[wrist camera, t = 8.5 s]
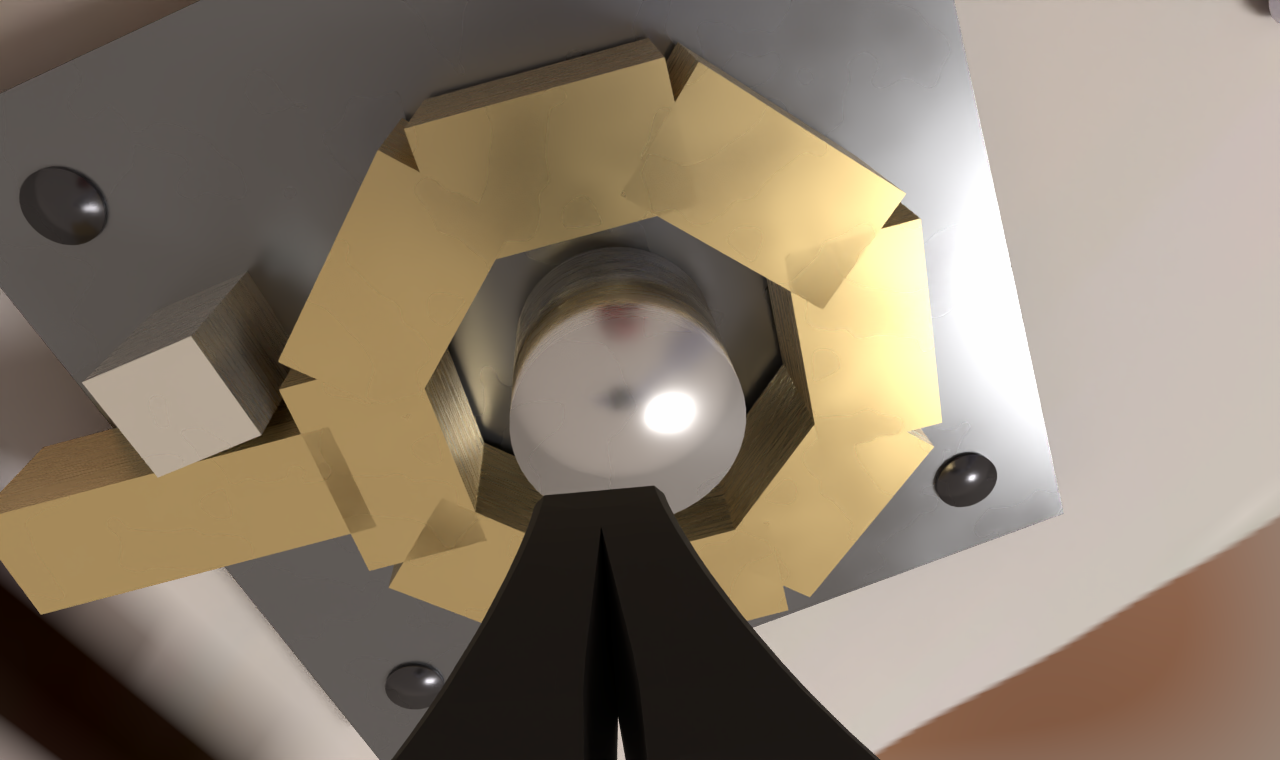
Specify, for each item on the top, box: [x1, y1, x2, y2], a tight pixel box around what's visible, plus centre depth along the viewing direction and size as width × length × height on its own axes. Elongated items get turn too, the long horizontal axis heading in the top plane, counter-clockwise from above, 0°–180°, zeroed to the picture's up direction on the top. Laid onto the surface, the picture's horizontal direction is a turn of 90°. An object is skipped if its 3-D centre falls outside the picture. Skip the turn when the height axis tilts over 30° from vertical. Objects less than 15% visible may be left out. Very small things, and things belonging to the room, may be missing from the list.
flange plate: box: [0, 0, 1064, 760], centre depth 17 cm, size 18×17×4 cm
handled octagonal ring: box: [0, 38, 942, 623], centre depth 17 cm, size 17×11×2 cm, turn 104°
